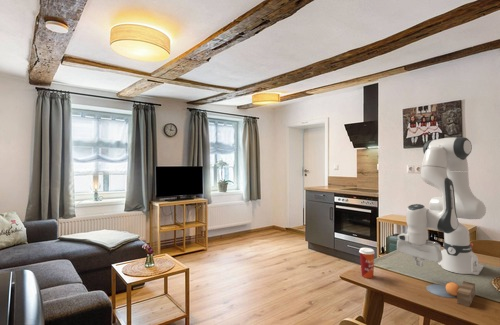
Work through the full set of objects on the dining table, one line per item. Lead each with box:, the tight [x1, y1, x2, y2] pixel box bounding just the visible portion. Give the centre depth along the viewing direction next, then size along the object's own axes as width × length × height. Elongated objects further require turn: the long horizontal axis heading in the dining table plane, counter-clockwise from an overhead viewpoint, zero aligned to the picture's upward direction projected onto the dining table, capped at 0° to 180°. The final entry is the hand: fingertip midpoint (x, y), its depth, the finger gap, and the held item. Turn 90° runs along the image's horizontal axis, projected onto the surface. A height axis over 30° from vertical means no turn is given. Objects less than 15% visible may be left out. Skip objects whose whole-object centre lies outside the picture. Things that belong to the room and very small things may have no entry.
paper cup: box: [358, 247, 376, 279], centre depth 148 cm, size 8×8×14 cm
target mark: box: [425, 283, 457, 299], centre depth 130 cm, size 13×13×1 cm
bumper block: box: [456, 281, 476, 308], centre depth 122 cm, size 14×4×5 cm, turn 134°
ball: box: [445, 281, 460, 296], centre depth 125 cm, size 6×6×6 cm
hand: (419, 265), depth 140 cm, fingers closed
